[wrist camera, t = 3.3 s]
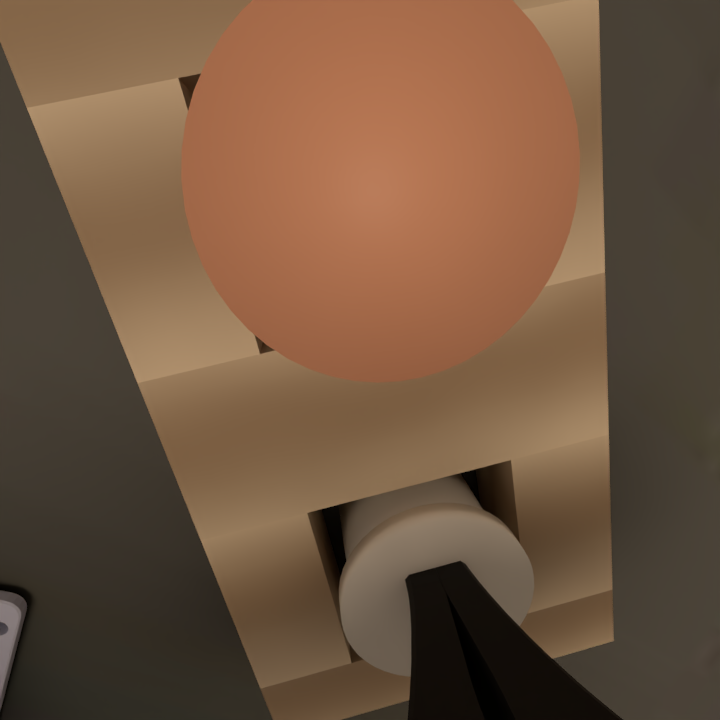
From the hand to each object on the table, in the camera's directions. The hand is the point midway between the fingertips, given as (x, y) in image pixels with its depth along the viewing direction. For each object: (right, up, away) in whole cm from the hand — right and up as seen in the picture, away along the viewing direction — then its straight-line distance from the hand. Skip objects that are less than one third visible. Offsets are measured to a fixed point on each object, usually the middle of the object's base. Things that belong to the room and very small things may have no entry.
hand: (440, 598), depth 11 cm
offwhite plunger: (-1, +1, +4) cm, 4 cm away
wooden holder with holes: (-1, +5, +2) cm, 6 cm away
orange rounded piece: (-2, +9, -2) cm, 9 cm away
